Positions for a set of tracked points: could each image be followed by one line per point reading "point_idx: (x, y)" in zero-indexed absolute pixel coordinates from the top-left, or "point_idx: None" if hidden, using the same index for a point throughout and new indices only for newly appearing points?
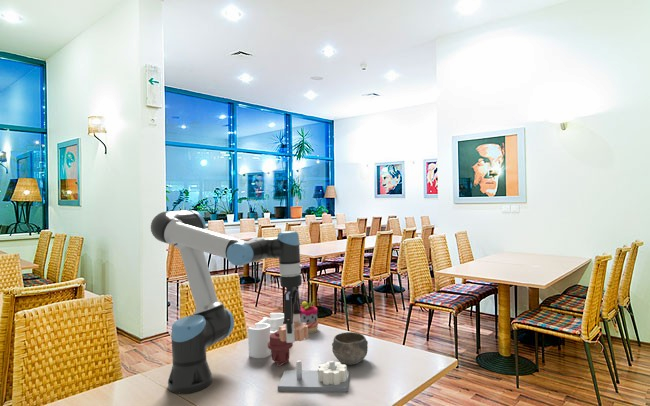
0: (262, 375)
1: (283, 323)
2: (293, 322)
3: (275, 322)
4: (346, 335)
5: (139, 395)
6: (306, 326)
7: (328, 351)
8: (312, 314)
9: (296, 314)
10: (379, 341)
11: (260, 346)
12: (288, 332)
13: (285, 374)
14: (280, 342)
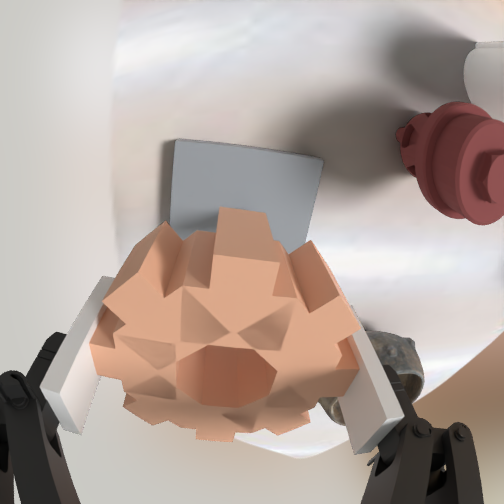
0: (320, 68)
1: (3, 376)
2: (347, 369)
3: None
4: (418, 383)
5: None
6: (202, 437)
7: (443, 295)
8: None
9: (371, 440)
10: (432, 386)
11: (492, 79)
12: (50, 346)
13: (280, 163)
14: (443, 166)
